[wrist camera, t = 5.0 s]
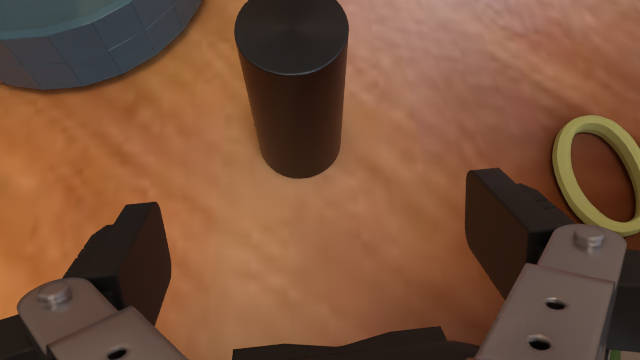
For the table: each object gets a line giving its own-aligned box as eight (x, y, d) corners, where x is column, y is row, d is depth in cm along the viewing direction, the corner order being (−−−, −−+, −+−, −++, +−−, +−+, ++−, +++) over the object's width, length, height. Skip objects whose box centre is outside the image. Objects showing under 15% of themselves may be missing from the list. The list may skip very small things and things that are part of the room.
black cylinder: (262, 182, 31) (237, 80, 22) (257, 111, 33) (231, -13, 23) (345, 174, 31) (356, 69, 22) (335, 103, 33) (341, -22, 24)
